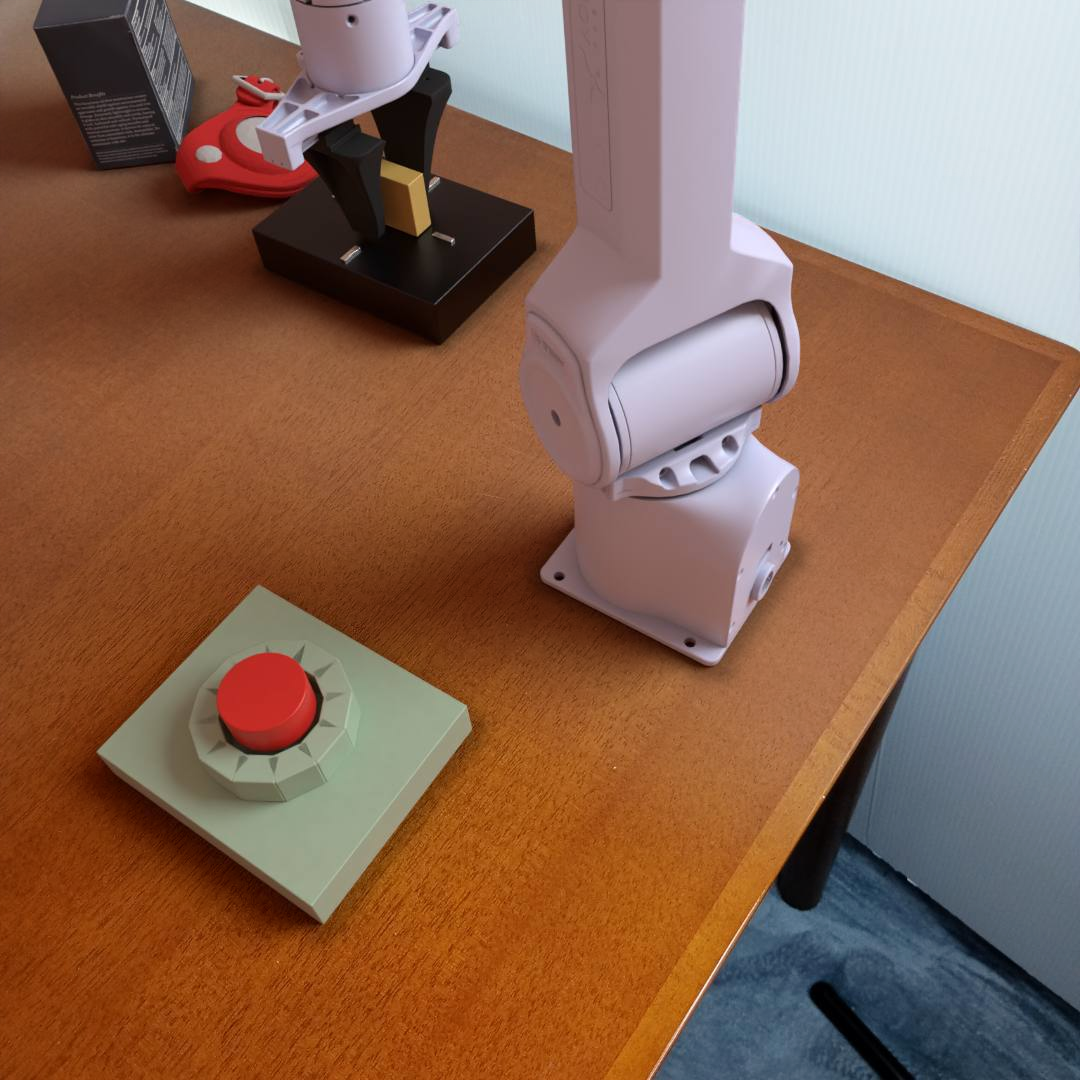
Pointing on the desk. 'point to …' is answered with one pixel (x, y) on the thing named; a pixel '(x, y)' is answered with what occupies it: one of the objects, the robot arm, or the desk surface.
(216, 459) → the desk surface
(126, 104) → the small box
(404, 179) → the thumb turn
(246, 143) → the tracker holder
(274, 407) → the desk surface
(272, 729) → the alarm button
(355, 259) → the plate
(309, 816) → the alarm block
